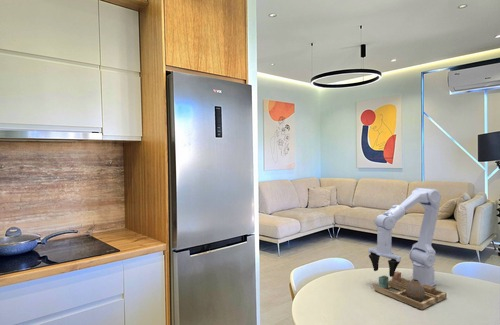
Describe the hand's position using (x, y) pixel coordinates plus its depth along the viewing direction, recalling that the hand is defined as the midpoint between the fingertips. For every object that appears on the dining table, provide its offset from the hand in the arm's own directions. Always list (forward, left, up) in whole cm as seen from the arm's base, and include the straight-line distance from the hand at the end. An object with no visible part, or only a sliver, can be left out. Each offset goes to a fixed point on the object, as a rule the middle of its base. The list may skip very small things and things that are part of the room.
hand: (383, 273), depth 137 cm
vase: (0, +14, -7) cm, 16 cm away
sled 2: (-10, +9, -7) cm, 15 cm away
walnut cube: (-10, +14, -7) cm, 19 cm away
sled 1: (0, +9, -7) cm, 12 cm away
